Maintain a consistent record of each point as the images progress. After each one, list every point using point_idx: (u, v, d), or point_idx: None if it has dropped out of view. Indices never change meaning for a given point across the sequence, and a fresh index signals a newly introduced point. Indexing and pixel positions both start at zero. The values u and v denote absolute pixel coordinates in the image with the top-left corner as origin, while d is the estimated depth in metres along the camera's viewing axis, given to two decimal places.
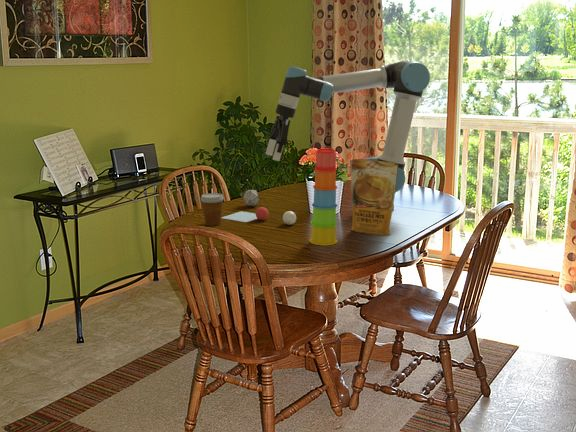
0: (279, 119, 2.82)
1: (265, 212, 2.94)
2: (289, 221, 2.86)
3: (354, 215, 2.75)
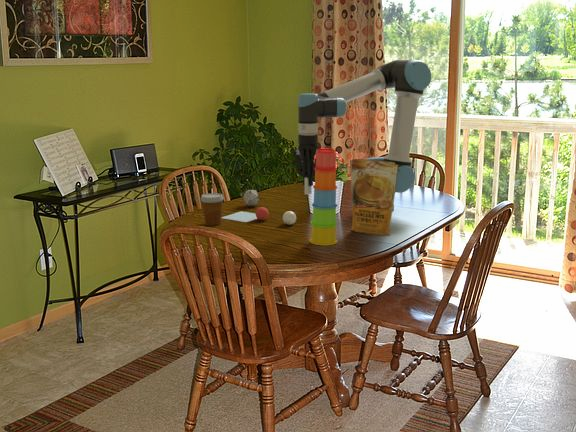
0: (303, 149, 2.76)
1: (265, 212, 2.94)
2: (289, 221, 2.86)
3: (354, 215, 2.75)
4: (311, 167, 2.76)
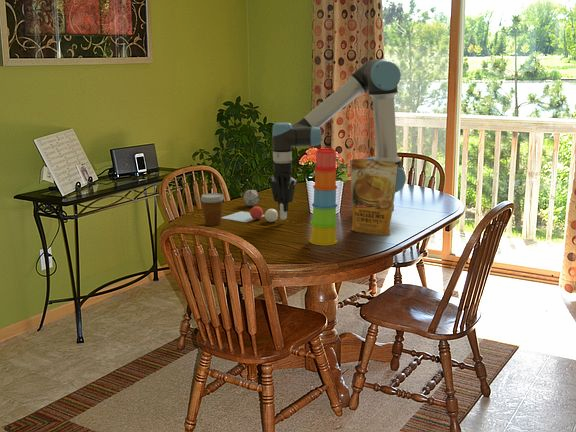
0: (278, 176, 2.85)
1: (255, 207, 2.96)
2: (266, 213, 2.91)
3: (354, 215, 2.75)
4: (286, 193, 2.86)
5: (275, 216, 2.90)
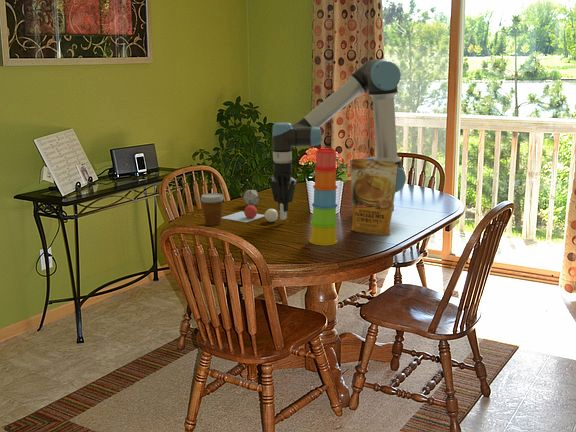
0: (278, 176, 2.85)
1: None
2: (266, 213, 2.91)
3: (354, 215, 2.75)
4: (286, 193, 2.86)
5: (275, 216, 2.90)
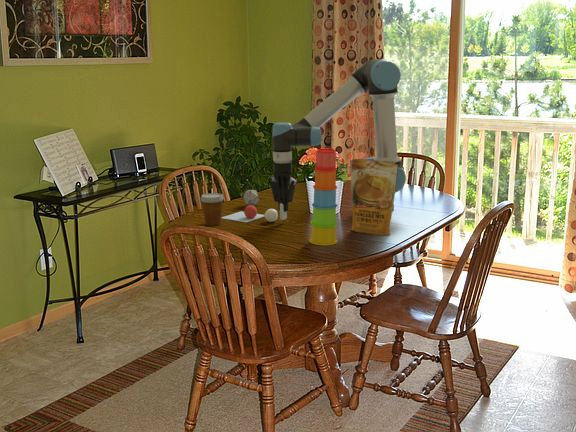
0: (278, 176, 2.85)
1: None
2: (266, 213, 2.91)
3: (354, 215, 2.75)
4: (286, 193, 2.86)
5: (275, 216, 2.90)
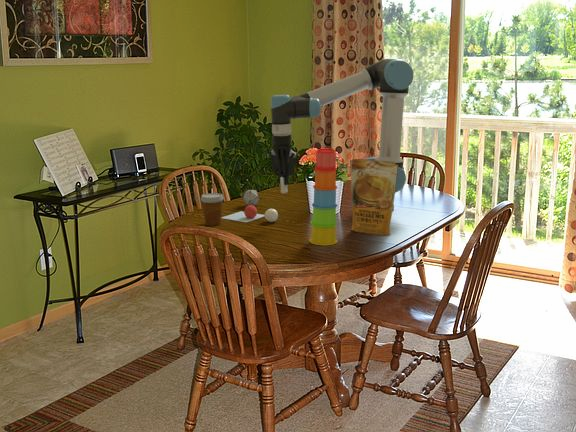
0: (277, 149, 2.83)
1: None
2: (266, 213, 2.91)
3: (354, 215, 2.75)
4: (286, 166, 2.83)
5: (275, 216, 2.90)
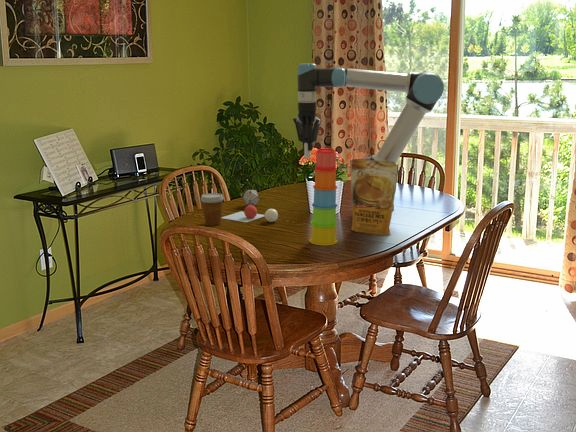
0: (302, 116, 2.94)
1: None
2: (266, 213, 2.91)
3: (354, 215, 2.75)
4: (310, 133, 2.95)
5: (275, 216, 2.90)
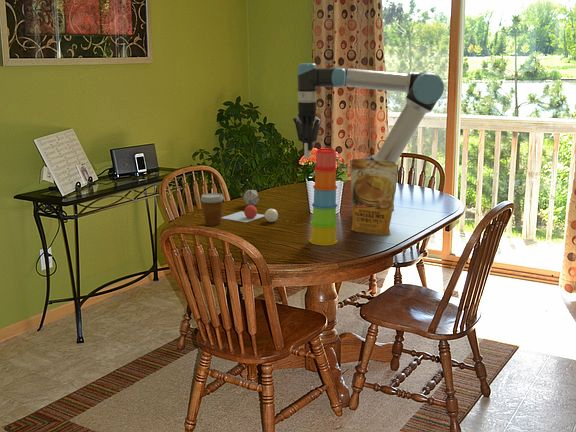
0: (302, 116, 2.94)
1: None
2: (266, 213, 2.91)
3: (354, 215, 2.75)
4: (310, 133, 2.95)
5: (275, 216, 2.90)
